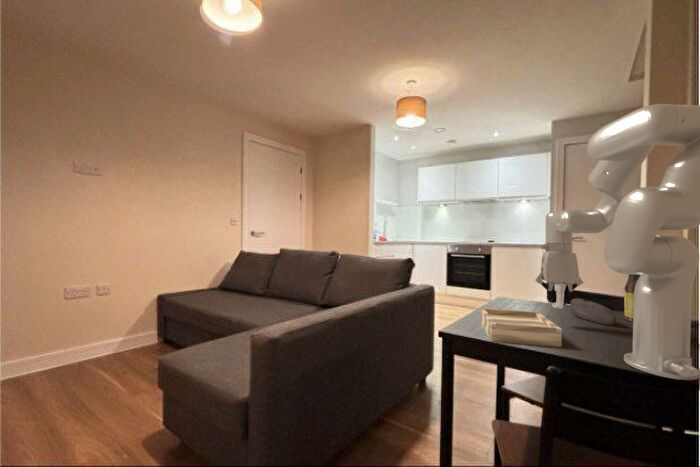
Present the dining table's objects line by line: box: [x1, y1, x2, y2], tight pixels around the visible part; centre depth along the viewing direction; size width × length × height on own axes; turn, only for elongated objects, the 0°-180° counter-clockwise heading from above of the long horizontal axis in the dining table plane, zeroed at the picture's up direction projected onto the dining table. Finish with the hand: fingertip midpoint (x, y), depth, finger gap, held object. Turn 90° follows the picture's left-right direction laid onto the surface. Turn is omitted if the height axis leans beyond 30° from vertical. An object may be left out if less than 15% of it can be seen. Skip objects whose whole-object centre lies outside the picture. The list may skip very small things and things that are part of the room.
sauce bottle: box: [623, 274, 640, 323], centre depth 111 cm, size 7×6×20 cm
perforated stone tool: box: [569, 297, 617, 326], centre depth 111 cm, size 15×5×7 cm, turn 13°
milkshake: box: [551, 282, 567, 309], centre depth 104 cm, size 4×5×10 cm
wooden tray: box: [479, 307, 563, 348], centre depth 96 cm, size 18×18×6 cm
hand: (558, 302), depth 104 cm, fingers closed on milkshake, 4 cm apart
